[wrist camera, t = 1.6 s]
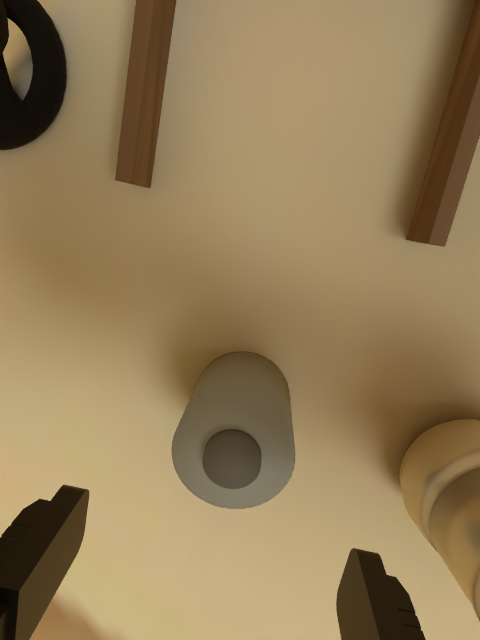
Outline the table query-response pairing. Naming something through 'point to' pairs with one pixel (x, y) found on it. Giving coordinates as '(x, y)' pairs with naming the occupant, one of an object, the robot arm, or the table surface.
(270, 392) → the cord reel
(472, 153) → the slot rack
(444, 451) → the plastic bottle
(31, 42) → the webcam
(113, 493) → the table surface
